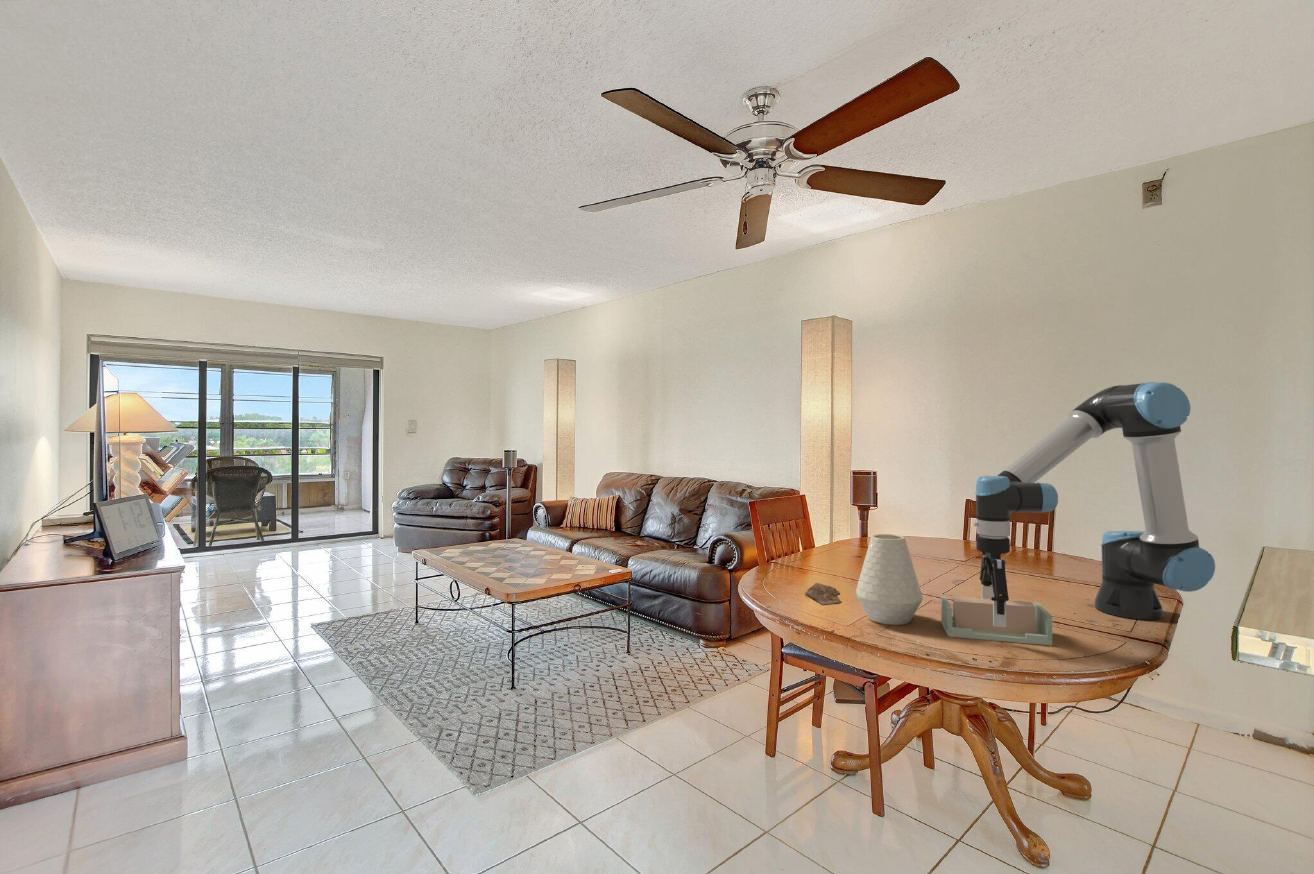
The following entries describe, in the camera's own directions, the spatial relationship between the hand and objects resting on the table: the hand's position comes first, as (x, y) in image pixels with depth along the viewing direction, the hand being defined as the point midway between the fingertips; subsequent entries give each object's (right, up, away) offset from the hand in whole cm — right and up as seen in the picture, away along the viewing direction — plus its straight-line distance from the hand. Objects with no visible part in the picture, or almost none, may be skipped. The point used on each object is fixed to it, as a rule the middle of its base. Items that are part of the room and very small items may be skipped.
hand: (993, 618), depth 152 cm
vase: (-22, -4, +13) cm, 26 cm away
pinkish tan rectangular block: (0, -3, 0) cm, 3 cm away
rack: (0, -4, 0) cm, 4 cm away
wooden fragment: (-34, -4, +39) cm, 51 cm away
